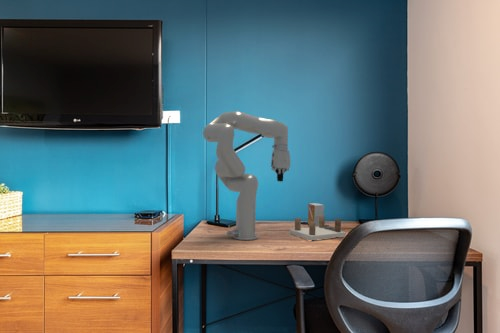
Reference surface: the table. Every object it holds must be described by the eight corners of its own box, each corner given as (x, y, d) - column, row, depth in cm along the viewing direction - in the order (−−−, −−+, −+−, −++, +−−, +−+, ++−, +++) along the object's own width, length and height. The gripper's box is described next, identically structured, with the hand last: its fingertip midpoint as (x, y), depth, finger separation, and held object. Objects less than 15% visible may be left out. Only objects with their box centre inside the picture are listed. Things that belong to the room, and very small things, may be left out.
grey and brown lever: (322, 228, 183) (323, 216, 183) (327, 227, 185) (327, 216, 184) (337, 231, 174) (338, 220, 174) (341, 231, 175) (342, 219, 175)
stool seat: (311, 241, 164) (311, 223, 164) (289, 233, 180) (289, 217, 180) (345, 237, 175) (345, 220, 174) (322, 230, 190) (322, 215, 190)
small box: (307, 224, 206) (308, 203, 206) (317, 224, 208) (317, 203, 208) (314, 227, 198) (314, 205, 198) (323, 227, 200) (324, 204, 200)
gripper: (272, 147, 181) (272, 181, 181) (295, 148, 188) (295, 181, 188) (265, 147, 188) (264, 181, 188) (288, 148, 195) (287, 180, 195)
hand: (280, 181), depth 188 cm, fingers closed
